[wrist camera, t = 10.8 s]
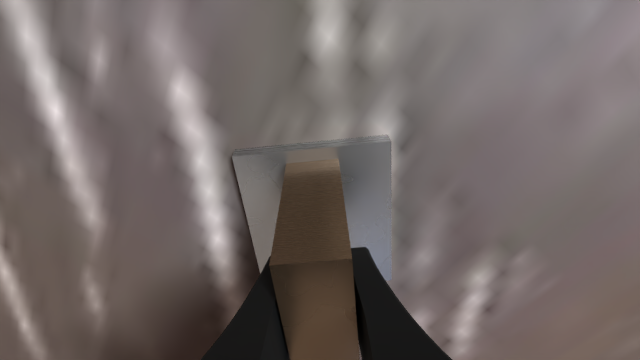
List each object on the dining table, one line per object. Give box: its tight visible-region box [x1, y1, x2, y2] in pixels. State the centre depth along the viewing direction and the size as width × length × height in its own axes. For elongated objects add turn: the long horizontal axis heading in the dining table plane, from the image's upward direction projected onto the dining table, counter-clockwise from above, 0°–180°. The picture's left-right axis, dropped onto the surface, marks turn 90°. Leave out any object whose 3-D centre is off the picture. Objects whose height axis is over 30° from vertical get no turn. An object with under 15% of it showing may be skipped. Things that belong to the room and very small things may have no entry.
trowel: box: [232, 135, 391, 360], centre depth 13 cm, size 6×7×6 cm
